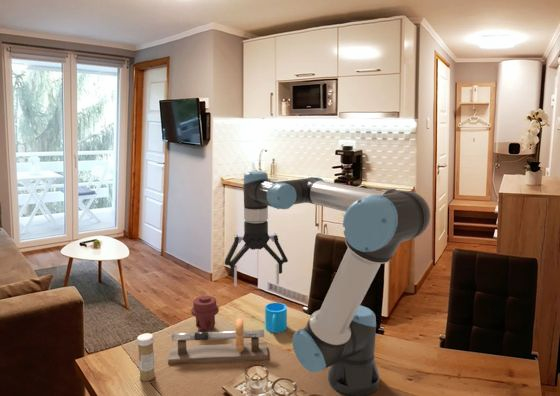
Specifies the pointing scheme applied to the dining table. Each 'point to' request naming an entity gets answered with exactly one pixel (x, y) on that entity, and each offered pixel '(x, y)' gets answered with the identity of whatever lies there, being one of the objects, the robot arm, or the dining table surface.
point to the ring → (239, 335)
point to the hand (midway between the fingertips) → (256, 283)
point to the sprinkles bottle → (146, 356)
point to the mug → (275, 317)
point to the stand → (217, 352)
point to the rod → (216, 335)
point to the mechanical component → (205, 312)
